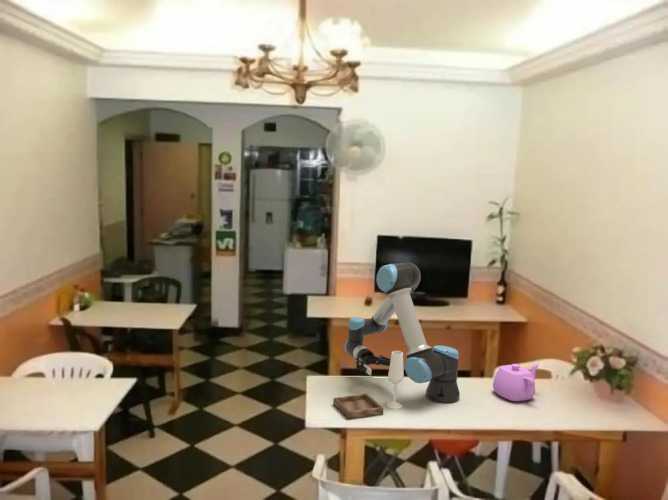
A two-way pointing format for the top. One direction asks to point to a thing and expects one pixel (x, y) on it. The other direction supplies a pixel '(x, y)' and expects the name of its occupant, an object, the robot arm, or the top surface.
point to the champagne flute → (395, 375)
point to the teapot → (515, 382)
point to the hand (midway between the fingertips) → (384, 370)
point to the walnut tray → (358, 406)
